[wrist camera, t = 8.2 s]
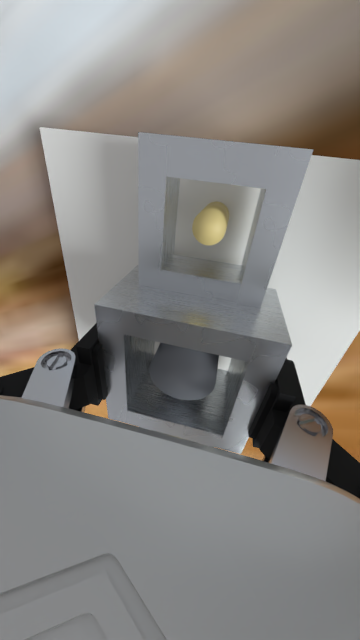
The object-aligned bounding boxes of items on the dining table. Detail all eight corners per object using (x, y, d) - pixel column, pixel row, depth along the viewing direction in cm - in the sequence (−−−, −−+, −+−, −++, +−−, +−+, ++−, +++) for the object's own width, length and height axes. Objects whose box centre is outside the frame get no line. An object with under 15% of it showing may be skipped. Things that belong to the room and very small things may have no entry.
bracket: (137, 137, 8) (70, 115, 5) (323, 156, 8) (386, 145, 4) (138, 409, 17) (114, 465, 14) (224, 432, 16) (220, 497, 13)
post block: (288, 416, 18) (306, 508, 13) (96, 369, 20) (48, 434, 15) (433, 170, 9) (661, 170, 4) (61, 131, 11) (-81, 101, 6)
